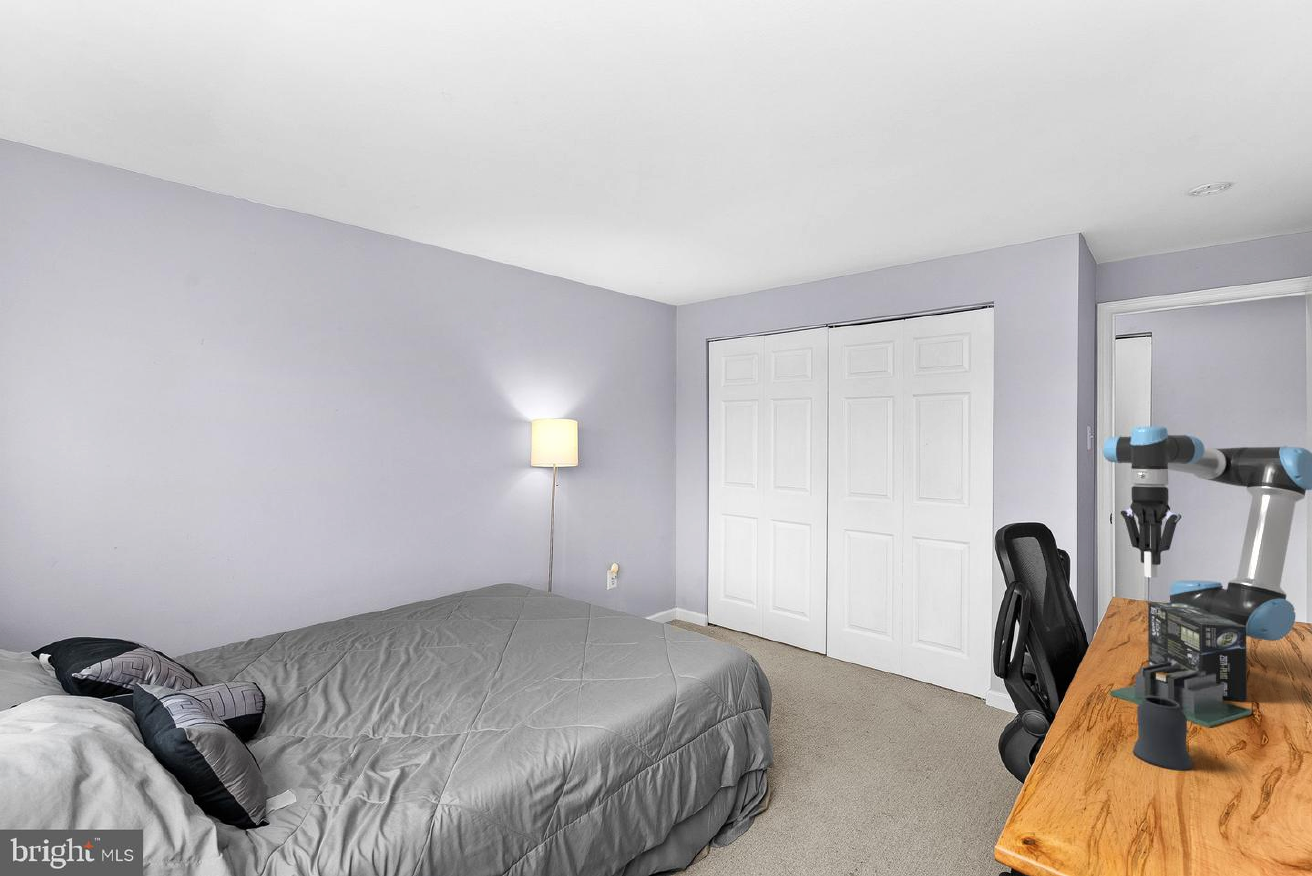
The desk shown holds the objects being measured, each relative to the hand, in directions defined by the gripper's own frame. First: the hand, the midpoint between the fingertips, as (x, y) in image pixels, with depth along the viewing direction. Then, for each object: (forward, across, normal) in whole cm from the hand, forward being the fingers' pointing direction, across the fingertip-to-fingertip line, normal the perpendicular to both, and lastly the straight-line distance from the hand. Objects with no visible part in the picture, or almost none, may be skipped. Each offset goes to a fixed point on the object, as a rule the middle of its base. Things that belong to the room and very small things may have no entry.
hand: (1150, 576), depth 160 cm
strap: (+22, +9, -6) cm, 25 cm away
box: (+29, +3, +13) cm, 32 cm away
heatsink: (+28, +9, -7) cm, 31 cm away
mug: (+29, +23, -41) cm, 55 cm away
